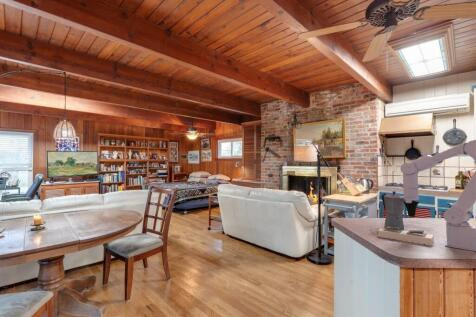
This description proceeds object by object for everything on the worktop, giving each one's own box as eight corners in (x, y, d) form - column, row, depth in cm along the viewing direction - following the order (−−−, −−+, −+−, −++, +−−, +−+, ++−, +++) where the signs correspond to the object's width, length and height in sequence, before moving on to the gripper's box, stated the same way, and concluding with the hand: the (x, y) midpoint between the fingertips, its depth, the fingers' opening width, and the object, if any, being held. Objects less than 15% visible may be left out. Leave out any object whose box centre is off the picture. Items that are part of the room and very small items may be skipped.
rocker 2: (423, 231, 105) (423, 229, 105) (423, 233, 103) (422, 231, 103) (410, 231, 108) (410, 229, 108) (409, 233, 106) (409, 231, 106)
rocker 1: (399, 228, 111) (399, 226, 111) (398, 229, 109) (397, 227, 109) (387, 228, 114) (387, 226, 115) (386, 229, 112) (386, 227, 112)
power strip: (433, 241, 104) (433, 234, 104) (432, 245, 99) (431, 237, 99) (381, 233, 118) (381, 226, 118) (377, 236, 113) (377, 229, 113)
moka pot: (398, 232, 119) (396, 192, 120) (374, 225, 134) (373, 190, 135) (413, 231, 121) (412, 192, 122) (388, 224, 136) (387, 189, 137)
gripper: (403, 186, 121) (404, 213, 121) (397, 188, 111) (398, 217, 110) (420, 187, 116) (421, 215, 116) (416, 189, 106) (417, 220, 105)
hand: (411, 216), depth 113 cm, fingers closed
